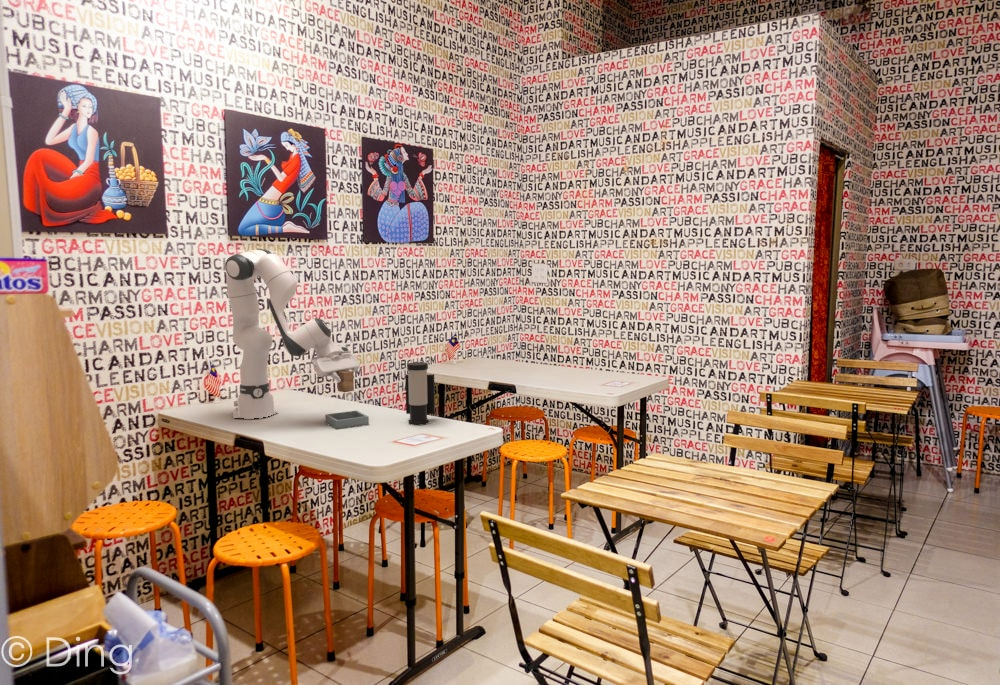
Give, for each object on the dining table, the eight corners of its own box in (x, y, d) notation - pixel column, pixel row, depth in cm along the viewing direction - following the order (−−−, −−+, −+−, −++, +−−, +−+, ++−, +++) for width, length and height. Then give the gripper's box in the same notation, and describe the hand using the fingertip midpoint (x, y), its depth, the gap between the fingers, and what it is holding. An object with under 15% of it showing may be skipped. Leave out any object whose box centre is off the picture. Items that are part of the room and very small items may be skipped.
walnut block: (338, 391, 281) (337, 371, 280) (346, 389, 284) (345, 370, 283) (345, 392, 278) (344, 372, 277) (353, 390, 282) (353, 371, 281)
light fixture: (402, 425, 280) (401, 365, 277) (406, 419, 291) (405, 361, 288) (431, 425, 279) (430, 365, 276) (435, 419, 290) (434, 361, 287)
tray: (325, 422, 285) (325, 414, 285) (356, 418, 292) (356, 410, 292) (336, 429, 274) (336, 420, 273) (368, 424, 281) (368, 416, 280)
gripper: (312, 353, 275) (329, 379, 271) (352, 347, 291) (368, 372, 287) (306, 363, 278) (322, 389, 274) (345, 357, 295) (361, 381, 290)
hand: (346, 380), depth 280 cm, fingers closed on walnut block, 4 cm apart
